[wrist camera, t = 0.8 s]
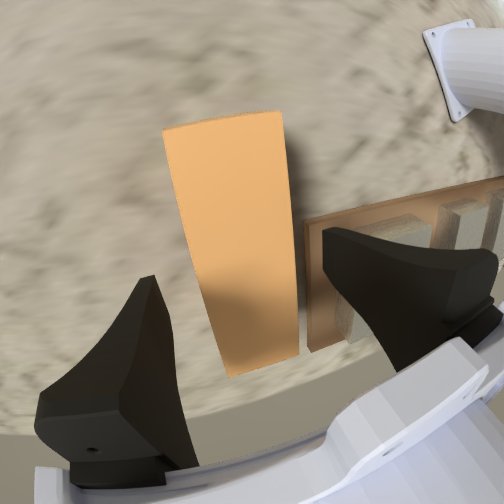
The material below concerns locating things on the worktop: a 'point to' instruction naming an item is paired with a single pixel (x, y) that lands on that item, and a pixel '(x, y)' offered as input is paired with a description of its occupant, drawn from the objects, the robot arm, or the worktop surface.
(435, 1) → the worktop surface
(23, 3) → the worktop surface
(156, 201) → the worktop surface
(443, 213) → the rail
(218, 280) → the tan rectangular plank
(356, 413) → the robot arm
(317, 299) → the rail base
